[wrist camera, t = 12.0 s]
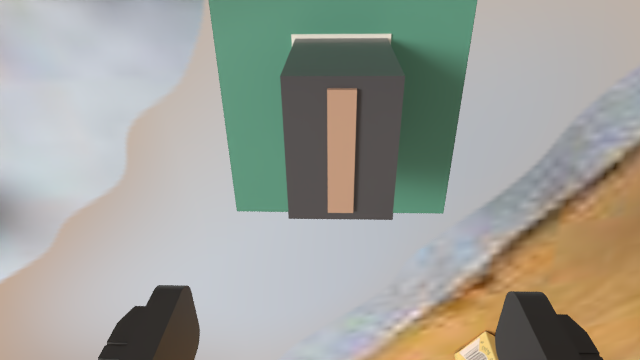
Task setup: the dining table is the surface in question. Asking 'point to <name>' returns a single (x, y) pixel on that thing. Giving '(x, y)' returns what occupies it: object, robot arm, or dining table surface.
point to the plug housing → (341, 127)
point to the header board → (341, 22)
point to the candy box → (479, 349)
